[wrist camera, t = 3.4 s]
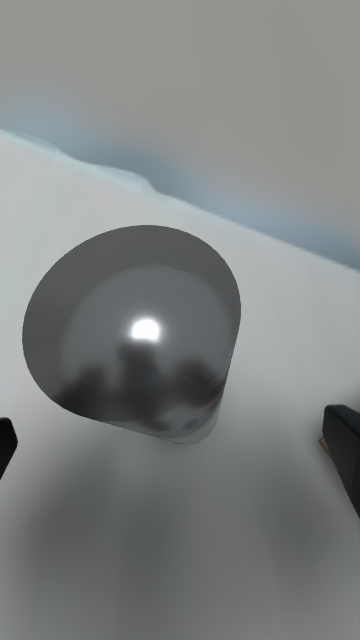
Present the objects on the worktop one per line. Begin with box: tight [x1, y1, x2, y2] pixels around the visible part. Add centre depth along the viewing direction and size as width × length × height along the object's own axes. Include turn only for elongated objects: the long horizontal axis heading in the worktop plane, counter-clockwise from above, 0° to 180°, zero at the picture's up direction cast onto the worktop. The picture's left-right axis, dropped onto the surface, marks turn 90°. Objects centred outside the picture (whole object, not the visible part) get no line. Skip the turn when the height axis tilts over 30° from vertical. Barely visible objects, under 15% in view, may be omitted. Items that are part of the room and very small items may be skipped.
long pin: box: [22, 225, 241, 444], centre depth 11 cm, size 4×4×13 cm
